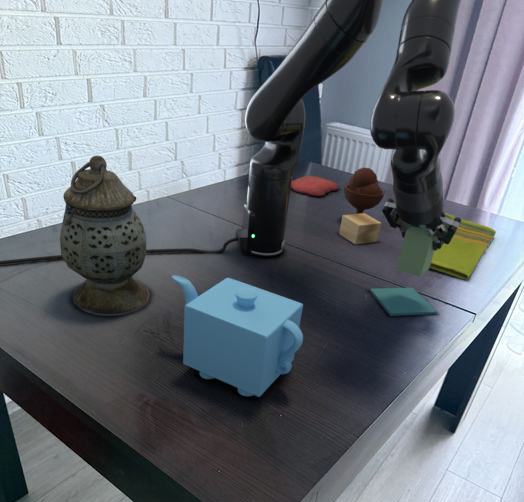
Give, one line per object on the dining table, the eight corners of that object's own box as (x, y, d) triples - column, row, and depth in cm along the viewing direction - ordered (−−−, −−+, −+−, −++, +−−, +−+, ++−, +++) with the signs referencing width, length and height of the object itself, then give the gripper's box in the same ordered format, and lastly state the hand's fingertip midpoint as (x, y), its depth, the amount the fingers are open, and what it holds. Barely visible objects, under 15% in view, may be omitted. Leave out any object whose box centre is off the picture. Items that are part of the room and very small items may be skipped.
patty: (317, 199, 152) (318, 192, 151) (279, 187, 158) (280, 181, 157) (344, 188, 165) (345, 182, 164) (308, 177, 171) (309, 171, 169)
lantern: (150, 316, 88) (146, 171, 74) (63, 318, 85) (42, 166, 71) (148, 279, 100) (145, 146, 85) (72, 279, 96) (55, 141, 82)
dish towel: (494, 237, 141) (498, 226, 139) (468, 281, 114) (473, 268, 113) (439, 222, 146) (443, 211, 145) (403, 261, 120) (406, 249, 118)
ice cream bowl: (380, 232, 134) (394, 175, 126) (339, 228, 134) (350, 170, 126) (374, 218, 143) (387, 164, 135) (335, 214, 143) (345, 159, 134)
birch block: (355, 244, 126) (359, 225, 123) (338, 233, 131) (342, 215, 128) (377, 241, 129) (381, 223, 126) (360, 231, 134) (364, 213, 131)
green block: (395, 268, 98) (407, 224, 93) (405, 261, 101) (417, 217, 96) (420, 277, 96) (434, 231, 91) (429, 269, 99) (442, 225, 94)
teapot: (307, 374, 79) (323, 297, 71) (275, 414, 71) (288, 331, 63) (192, 328, 87) (194, 253, 79) (150, 358, 78) (148, 278, 71)
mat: (390, 316, 98) (391, 313, 97) (369, 291, 106) (370, 288, 105) (435, 314, 100) (436, 311, 100) (412, 290, 108) (413, 287, 108)
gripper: (472, 182, 79) (468, 236, 94) (387, 161, 85) (396, 214, 100) (451, 223, 78) (450, 270, 94) (367, 199, 84) (379, 247, 100)
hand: (422, 241), depth 97 cm, fingers closed on green block, 5 cm apart
